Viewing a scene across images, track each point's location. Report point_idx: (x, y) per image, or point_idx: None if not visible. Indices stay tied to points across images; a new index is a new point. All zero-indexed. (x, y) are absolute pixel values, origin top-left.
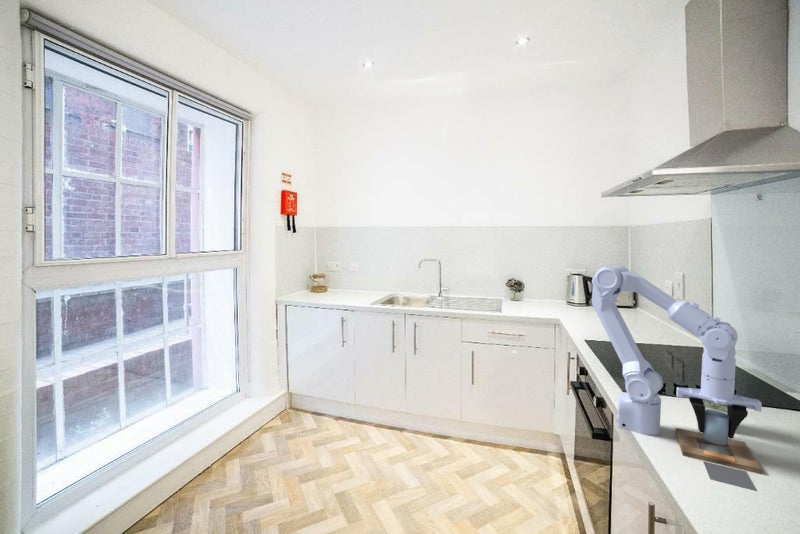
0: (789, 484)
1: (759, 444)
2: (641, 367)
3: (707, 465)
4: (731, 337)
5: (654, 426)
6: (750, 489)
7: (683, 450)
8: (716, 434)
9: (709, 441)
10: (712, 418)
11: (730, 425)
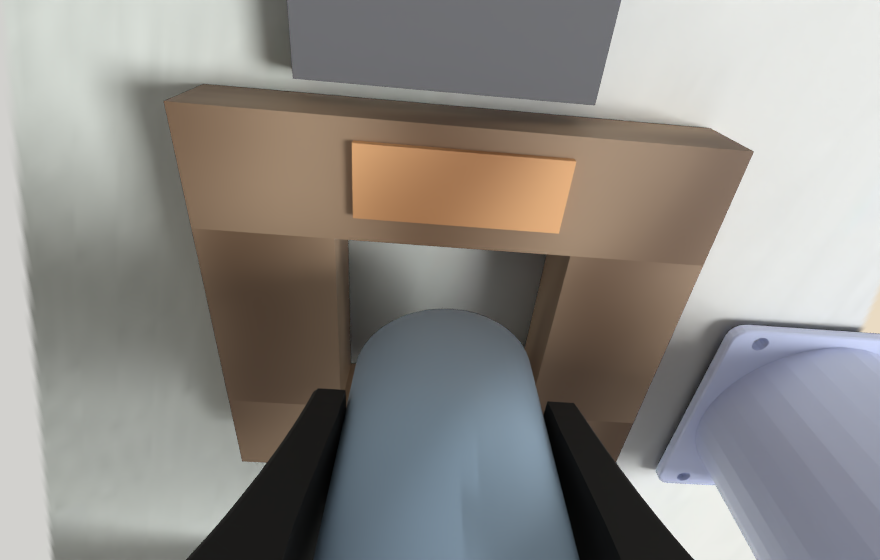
0: (33, 87)
1: (182, 491)
2: None
3: (591, 31)
4: None
5: (829, 423)
6: None
7: (742, 164)
8: (464, 378)
9: (503, 328)
10: None
11: (307, 521)
